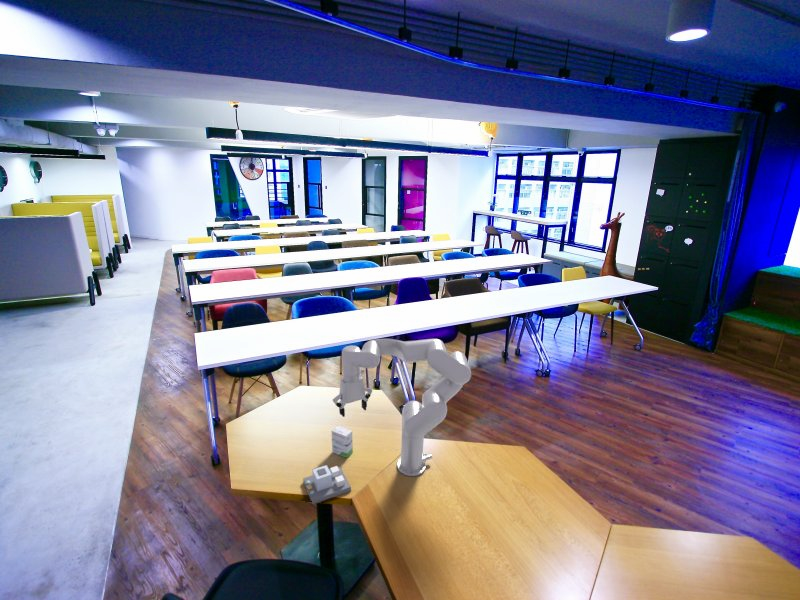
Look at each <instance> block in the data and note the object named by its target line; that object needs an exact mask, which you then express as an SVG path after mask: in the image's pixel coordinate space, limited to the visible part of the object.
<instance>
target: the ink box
mask: <svg viewBox="0 0 800 600" xmlns="http://www.w3.org/2000/svg"><path fill="white" fill-rule="evenodd" d="M353 447H354V445H353V431H352V430H350V429H348V428H345V427H343V426H340V425H337V426H336V427H334V428H333V429H332V430H331V451H332V453H333V454H336V455H339V456H340V457H343V458H346V459H348V458H349V457H350V456H351V455H352V454H353V453H354V452H353V451H354V450H353V449H354V448H353Z"/></svg>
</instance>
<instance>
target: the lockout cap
mask: <svg viewBox="0 0 800 600" xmlns="http://www.w3.org/2000/svg"><path fill="white" fill-rule="evenodd" d="M312 475H313V483H314V485H315V487H316V489H317V491H320V490H323V489H326V488H329V487H332V474H331V472H330V468H329V467H328V464H326V465H322V466H319V467H317V468H314V469H312Z"/></svg>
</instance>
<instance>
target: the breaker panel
mask: <svg viewBox="0 0 800 600" xmlns="http://www.w3.org/2000/svg"><path fill="white" fill-rule="evenodd" d="M329 470H330V472H331V474H332V487H329V488H326V489H323V490H320V491H317V489H316V487H315V485H314V483H313V474H312V475H310V476H305V477H303V480H302V481H303V484H304V486H305V489H306V492H307V493H308V497H309V499H310V502H311V501H312V502H311V504H312V505H315V504H319V503H321V502H323V501H326V500H328V499H332V498H334V497H336V496H340V495H343V494H346V493H349V492H351V491H352V485H351V483H350V482H349V480H348V479H347V476H346V475H345V473H344V471H343V469H342V468H341V466H338V465H335V466H332V467H330V468H329Z"/></svg>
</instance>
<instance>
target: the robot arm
mask: <svg viewBox="0 0 800 600" xmlns="http://www.w3.org/2000/svg"><path fill="white" fill-rule="evenodd" d="M381 356H394V357H396V358H398V359H399V360H401V361H402V362H404V363H407V364H410V363H421V362H426V364H427V365H428V366H429V367H430V368H431V369H432V370H434V371H435V372H436V373H438V374H439V375H440V376H442V378H440V379H439V380H438V381H437V382H435V383H434V384H433V385H432V386H431V387H430V388H428V389H426V391H424V393H423V394H422V397H421V402H419V401H418V400H409V401H407V402H406V403H405V404H404V406H403V407H402V410H401V411H402V412H401V446H400V447H401V448H400V458H398V460H397V462H396V463H397V464H396V467H397V470H398V472H400V473H401V474H402V475H405V476H408V477H417V476H420V475H421V474H423V473H424V472H425V471H426V469H427V468H426V466H427V464H426V462H427V461H429V460H432V459H433V456H432V454H427V452H424V441H425V439H424V438H425V435H426V434H428V433H429V432H430V431H431V430H433V429H435V428H436V427H438V425H440V423H442V422H443V421H444V420H445V418H446V416H447V413H448V406H447V403H448V401H450V400H451V399H452V398H453V397H455V396H456V395H457V394H458V393H459V391H460V390H462V388H463V386H464V385H465V384H467V383H468V382H469V381H470V380H471V377H472V370H471V368H470V365H469V361H468V359H467V357H466V355H465V354H464V353H463V352H461V351H458V350H455V351H453V352H452V353H449V352H448V351H447V348H446V344H445V343H444V342H443V340H441V339H438V338H427V339H418V340H407V341H402V340H398V339H395V338H394V339H392V338H378V339H371V340H368V341H367V342H365V343H364V344H363V345H362V348H361V349H360V347H359V346H357V345H347V346H345V347H343V348H342V349H341V366H342V368H341V369H342V378H340V383H339V390H338V391H339V393H338V395H336V396H335V397H334V398H332V402H333V403H334V404H335V406H336V407H337V408H339V409H338V411H339V415H341V417H343V418H345V416H346V415H345V413H346V412H345V411H346V410H345V406H346V405H347V404H350V403H354V402H358V401H361V408H362V409H363V411H367V407H368V401H369V399H370V397H371V395H372V393H373V390H372V388H370V387H366V386H365V380H364V377H363V374H365V370H364V369H375V368H377V367H378V366H379V364H380V360H381ZM362 368H364V369H362ZM338 401H339V402H338Z"/></svg>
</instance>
